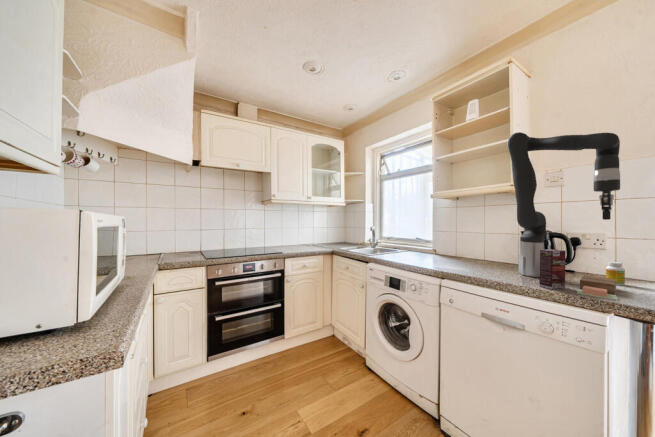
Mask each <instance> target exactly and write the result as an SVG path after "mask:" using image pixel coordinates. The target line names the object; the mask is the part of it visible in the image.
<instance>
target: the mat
mask: <svg viewBox="0 0 655 437" xmlns="http://www.w3.org/2000/svg"><path fill="white" fill-rule="evenodd" d="M576 290H577V291H576V294H577V295H583V296H589V297H597V298H601V299H602V298H603V299H607V300H615V301H618V300H619V299H618V296H617V295H616V294H615V295H611V294H607V297H602V296H596V295H590V294H584V293H582V290H580V288H579V289H576Z"/></svg>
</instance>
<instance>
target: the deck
mask: <svg viewBox="0 0 655 437" xmlns="http://www.w3.org/2000/svg"><path fill="white" fill-rule="evenodd" d="M583 286H588V287H595V288H601V289H607V294H611V295H616V290H617V285H616V279H609V278H606V277H601V276H600V277H599V276H594V275H585V274H584V275H583V276H582V277H581V278H580V279H579V290H582V288H583Z"/></svg>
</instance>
